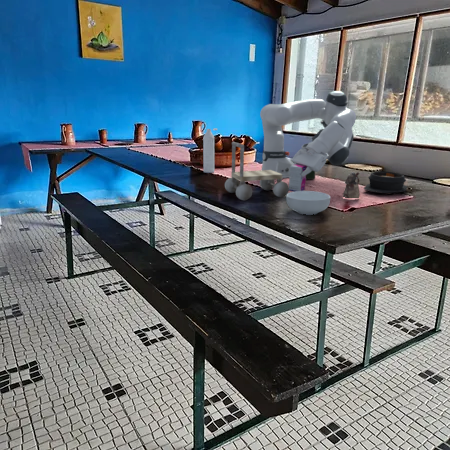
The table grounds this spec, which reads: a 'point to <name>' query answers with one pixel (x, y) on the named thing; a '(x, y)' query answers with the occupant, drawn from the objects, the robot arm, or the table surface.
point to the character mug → (311, 175)
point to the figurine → (352, 186)
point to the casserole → (386, 182)
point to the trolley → (253, 178)
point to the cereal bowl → (308, 201)
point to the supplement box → (297, 178)
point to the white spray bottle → (208, 151)
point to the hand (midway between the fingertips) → (296, 173)
